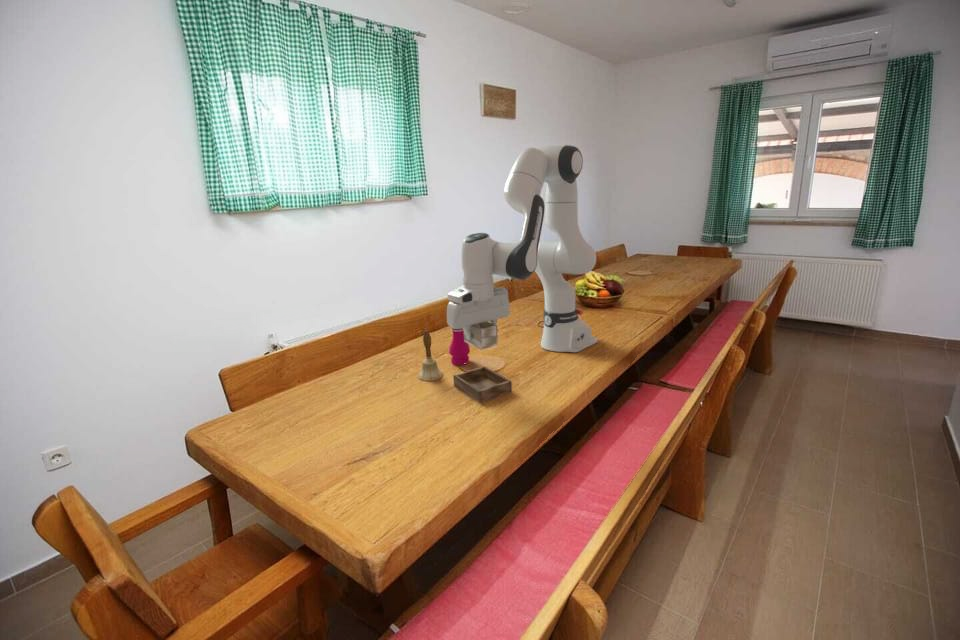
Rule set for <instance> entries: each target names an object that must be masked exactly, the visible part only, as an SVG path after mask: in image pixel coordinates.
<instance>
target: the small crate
mask: <svg viewBox="0 0 960 640" xmlns="http://www.w3.org/2000/svg"><path fill="white" fill-rule="evenodd" d="M468 330H469V332H471V333H473V339H471V340H468V339H466V333H465V332H464V342H466V343H468V345H469V346H470V345H471V346H473V347H475V348H477V349H478V350H480V351H481V350H485V349H488V348H491V347H496V346H498V345H499V341H498V340H499V339H498V338H499V337H498V325H497V324H496V325H494V324H492V323H491V322H490V321H487V322H483V323H479V324H474V325H470V329H468Z"/></svg>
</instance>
